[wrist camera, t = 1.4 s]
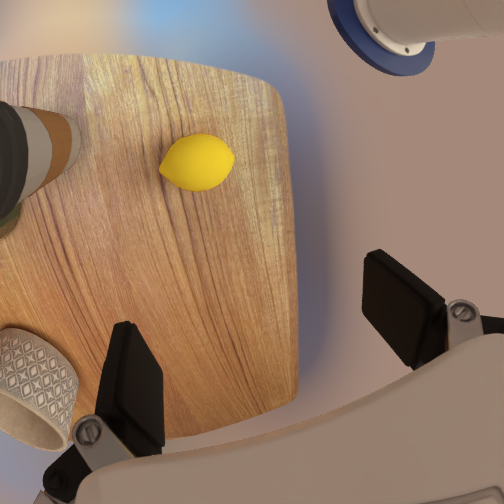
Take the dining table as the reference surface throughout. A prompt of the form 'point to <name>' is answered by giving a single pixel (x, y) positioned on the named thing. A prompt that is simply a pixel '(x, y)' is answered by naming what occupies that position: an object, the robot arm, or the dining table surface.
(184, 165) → the lemon
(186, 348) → the dining table surface
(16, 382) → the planter
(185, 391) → the dining table surface
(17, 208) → the bowl
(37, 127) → the coffee cup
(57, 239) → the dining table surface
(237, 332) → the dining table surface
